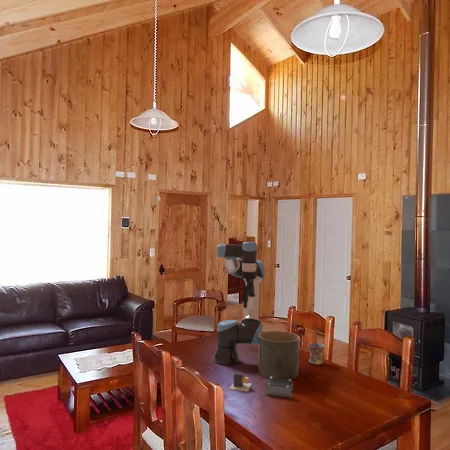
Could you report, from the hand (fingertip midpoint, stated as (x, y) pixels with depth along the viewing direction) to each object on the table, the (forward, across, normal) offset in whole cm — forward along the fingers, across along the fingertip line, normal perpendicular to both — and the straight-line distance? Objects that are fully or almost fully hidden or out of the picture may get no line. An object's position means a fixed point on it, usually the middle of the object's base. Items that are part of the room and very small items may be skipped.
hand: (248, 311), depth 207 cm
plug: (+34, -13, 0) cm, 37 cm away
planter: (+35, +12, -15) cm, 40 cm away
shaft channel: (+35, -13, -19) cm, 42 cm away
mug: (+35, +35, -33) cm, 59 cm away
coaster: (+35, -13, 0) cm, 37 cm away
